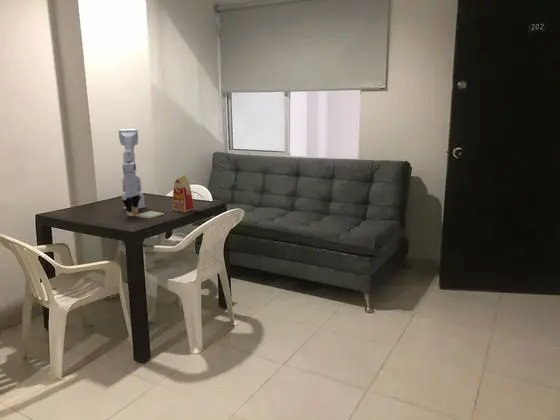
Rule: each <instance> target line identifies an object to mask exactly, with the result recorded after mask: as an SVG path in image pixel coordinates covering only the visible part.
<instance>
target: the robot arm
mask: <svg viewBox="0 0 560 420" xmlns="http://www.w3.org/2000/svg"><path fill="white" fill-rule="evenodd" d="M138 131H139V130H138V129H137V128H119V129H118V139H119V143H120V145H122V146H123V147H124V149H125V150H124V152H123V163H122V173H123V178H122V181H121V183H122V184H121V185H122V192H123V195H122V196H121V201H122V203H123V204H124V206H125V207H124V206H123V209H125V210H126V213H127V212H132V207H138V210H139V209H144V208H146V205H145V195H144V193H143V192H142V182H141V178H140V177H139V176H138V175H137V174H136V173H137V164H136V156H135V155H136V154H135V151H134V150H135V146H137V145H138V143H139V133H138Z"/></svg>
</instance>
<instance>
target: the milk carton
mask: <svg viewBox="0 0 560 420" xmlns="http://www.w3.org/2000/svg"><path fill="white" fill-rule="evenodd" d="M172 192H173V194H172V211H173V210H175V211H174V212H177V211H184V212H183V213H187V212H186V211H188V212H190V211H189V210H192V209H195V205H194V199H193V193H192V190H191V186H190V182H189V179H188V178H187V177H186V173H184V174H182V175H181V176H179V177H177V178H176V181H174V183H173V191H172ZM192 211H193V210H192Z"/></svg>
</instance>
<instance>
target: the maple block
mask: <svg viewBox="0 0 560 420" xmlns="http://www.w3.org/2000/svg"><path fill="white" fill-rule="evenodd" d="M136 214H139V209H138V207H132V212H127V211H126V216H129V217H136Z"/></svg>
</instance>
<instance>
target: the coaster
mask: <svg viewBox="0 0 560 420" xmlns="http://www.w3.org/2000/svg"><path fill="white" fill-rule="evenodd" d="M161 215H163V216H165V213H164V212H159V211H153V210H149V211H144V212H141V213H138V214H136V215H135V217H138V218H143V219H147V218H148V219H149V220H151V219H155V218H158V217H157V216H159V217H161ZM154 217H155V218H154ZM150 218H151V219H150Z"/></svg>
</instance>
